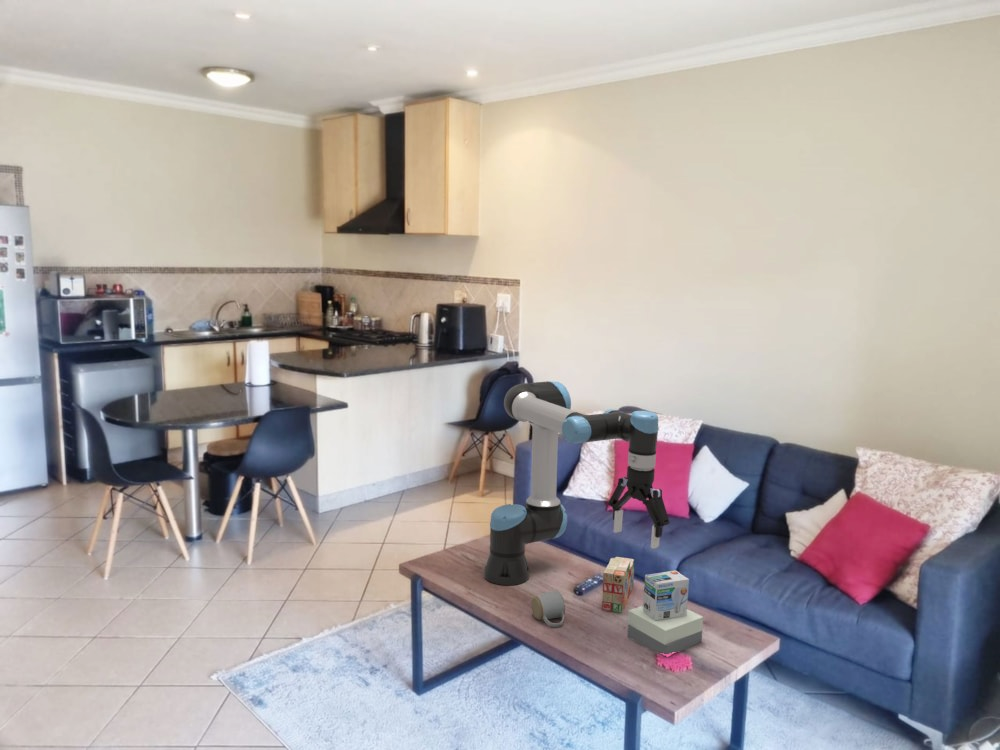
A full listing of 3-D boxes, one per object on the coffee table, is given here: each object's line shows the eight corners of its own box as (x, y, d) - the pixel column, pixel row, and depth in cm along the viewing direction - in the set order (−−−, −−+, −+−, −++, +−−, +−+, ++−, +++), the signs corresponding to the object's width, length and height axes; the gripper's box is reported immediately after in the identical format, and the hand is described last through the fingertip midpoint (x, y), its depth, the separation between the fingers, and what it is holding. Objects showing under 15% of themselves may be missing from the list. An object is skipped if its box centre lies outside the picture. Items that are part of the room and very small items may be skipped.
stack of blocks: (614, 583, 247) (616, 547, 245) (633, 586, 245) (635, 550, 243) (601, 610, 227) (603, 571, 225) (622, 614, 225) (624, 575, 223)
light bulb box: (655, 621, 204) (657, 584, 202) (641, 610, 210) (643, 574, 209) (688, 615, 208) (690, 578, 206) (674, 605, 214) (676, 569, 212)
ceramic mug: (529, 614, 223) (530, 590, 221) (553, 609, 226) (554, 585, 225) (546, 631, 213) (547, 605, 212) (571, 625, 217) (572, 600, 215)
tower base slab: (627, 638, 211) (628, 625, 210) (662, 623, 220) (662, 610, 219) (666, 659, 200) (667, 645, 199) (701, 643, 209) (702, 629, 208)
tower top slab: (627, 623, 211) (628, 610, 210) (664, 610, 219) (665, 598, 219) (664, 644, 199) (665, 630, 199) (702, 630, 208) (703, 616, 207)
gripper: (598, 458, 215) (594, 528, 218) (668, 481, 196) (662, 557, 200) (616, 454, 220) (611, 523, 223) (686, 476, 201) (679, 551, 204)
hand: (635, 539), depth 211 cm, fingers open, 13 cm apart
